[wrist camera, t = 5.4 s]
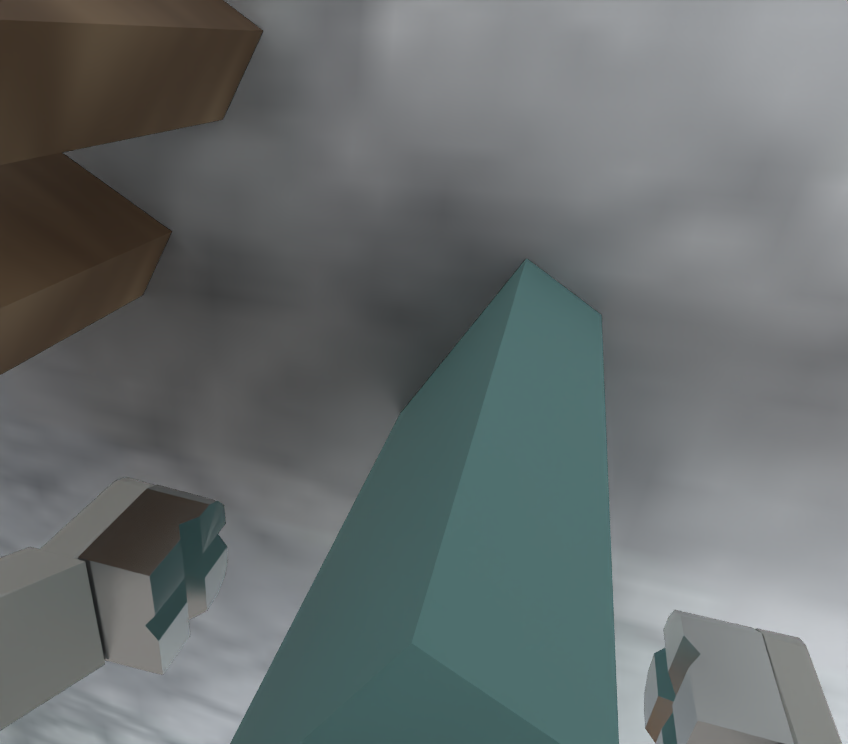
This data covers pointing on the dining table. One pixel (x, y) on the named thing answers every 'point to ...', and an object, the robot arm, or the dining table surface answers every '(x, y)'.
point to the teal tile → (470, 555)
